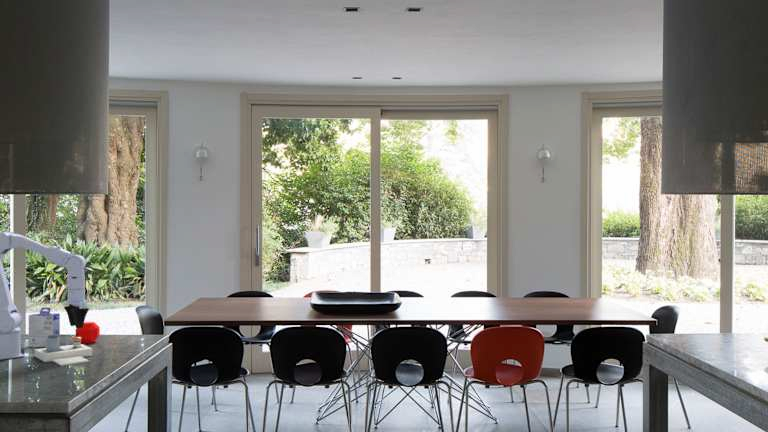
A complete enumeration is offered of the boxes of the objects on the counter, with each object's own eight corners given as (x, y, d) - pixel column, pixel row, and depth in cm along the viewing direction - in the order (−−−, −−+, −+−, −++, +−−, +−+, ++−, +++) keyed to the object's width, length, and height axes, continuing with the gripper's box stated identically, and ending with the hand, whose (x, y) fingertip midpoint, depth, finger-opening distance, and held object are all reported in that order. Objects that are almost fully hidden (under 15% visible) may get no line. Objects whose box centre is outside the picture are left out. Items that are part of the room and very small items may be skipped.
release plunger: (73, 351, 256) (73, 338, 256) (70, 349, 259) (70, 337, 259) (82, 349, 259) (82, 337, 258) (80, 348, 261) (79, 336, 261)
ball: (79, 340, 285) (79, 321, 285) (100, 340, 286) (100, 321, 286) (74, 344, 277) (74, 324, 277) (96, 343, 278) (96, 324, 278)
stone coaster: (60, 365, 240) (60, 364, 240) (52, 361, 247) (52, 359, 247) (88, 362, 246) (88, 360, 246) (80, 357, 253) (80, 356, 253)
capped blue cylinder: (48, 359, 251) (48, 336, 250) (44, 357, 254) (44, 335, 254) (61, 357, 253) (61, 335, 253) (57, 355, 257) (57, 333, 257)
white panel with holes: (44, 361, 246) (44, 354, 246) (34, 356, 255) (34, 349, 255) (92, 355, 256) (92, 348, 256) (81, 350, 266) (81, 343, 266)
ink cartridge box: (60, 344, 277) (60, 307, 277) (53, 347, 271) (53, 309, 271) (35, 344, 277) (34, 307, 277) (27, 347, 272) (27, 309, 271)
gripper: (94, 289, 255) (94, 328, 256) (81, 286, 267) (81, 323, 267) (73, 291, 251) (74, 330, 251) (61, 287, 262) (61, 325, 262)
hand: (76, 326), depth 259 cm, fingers open, 6 cm apart
